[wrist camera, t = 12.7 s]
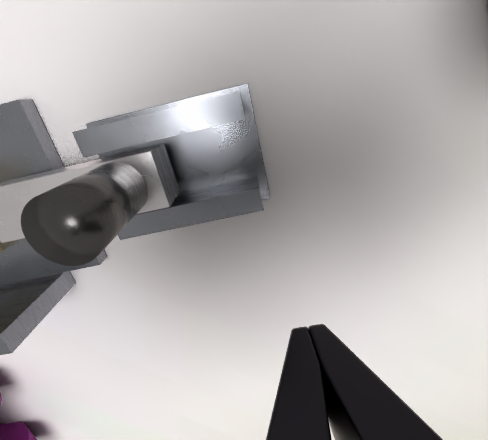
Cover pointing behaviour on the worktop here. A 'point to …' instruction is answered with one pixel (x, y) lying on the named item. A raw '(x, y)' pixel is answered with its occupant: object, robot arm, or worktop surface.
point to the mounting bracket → (15, 431)
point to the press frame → (177, 215)
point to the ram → (85, 203)
